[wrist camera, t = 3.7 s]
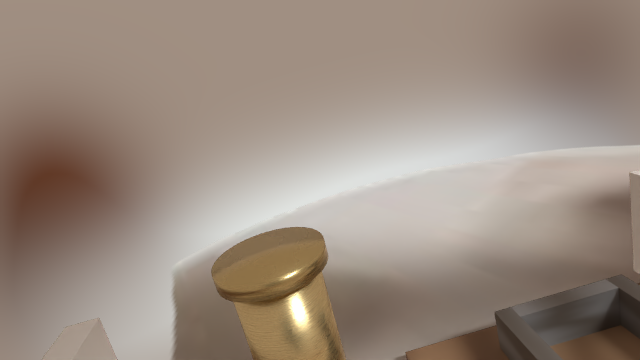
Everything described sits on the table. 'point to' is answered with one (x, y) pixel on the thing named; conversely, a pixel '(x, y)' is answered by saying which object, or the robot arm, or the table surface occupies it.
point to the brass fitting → (281, 295)
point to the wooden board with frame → (556, 328)
